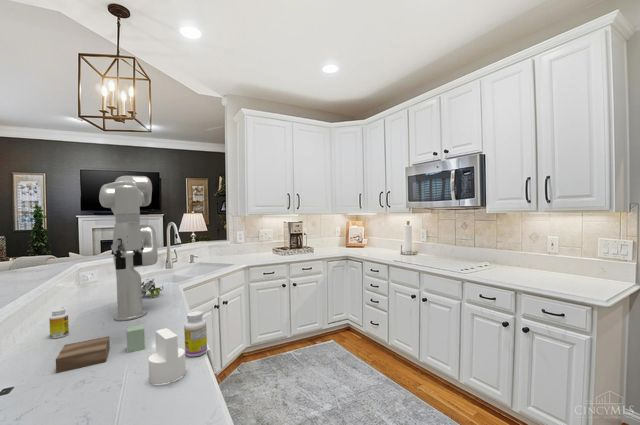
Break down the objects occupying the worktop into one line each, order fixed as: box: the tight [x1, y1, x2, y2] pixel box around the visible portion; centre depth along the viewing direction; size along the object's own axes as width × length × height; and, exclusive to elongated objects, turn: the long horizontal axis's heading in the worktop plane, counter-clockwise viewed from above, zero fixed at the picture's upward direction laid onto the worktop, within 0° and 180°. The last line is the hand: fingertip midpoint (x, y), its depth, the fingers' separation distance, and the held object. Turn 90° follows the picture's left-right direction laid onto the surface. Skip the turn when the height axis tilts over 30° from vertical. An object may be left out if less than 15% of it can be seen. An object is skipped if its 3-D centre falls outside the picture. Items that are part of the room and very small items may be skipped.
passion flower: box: [141, 278, 164, 299], centre depth 174 cm, size 11×11×12 cm
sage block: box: [126, 323, 146, 354], centre depth 105 cm, size 5×5×7 cm
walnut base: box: [55, 335, 111, 374], centre depth 98 cm, size 12×12×4 cm
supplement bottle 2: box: [183, 310, 208, 358], centre depth 99 cm, size 7×7×13 cm
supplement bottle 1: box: [48, 307, 70, 339], centre depth 118 cm, size 6×6×10 cm
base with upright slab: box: [148, 327, 186, 385], centre depth 85 cm, size 9×9×12 cm
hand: (129, 267), depth 110 cm, fingers open, 9 cm apart
